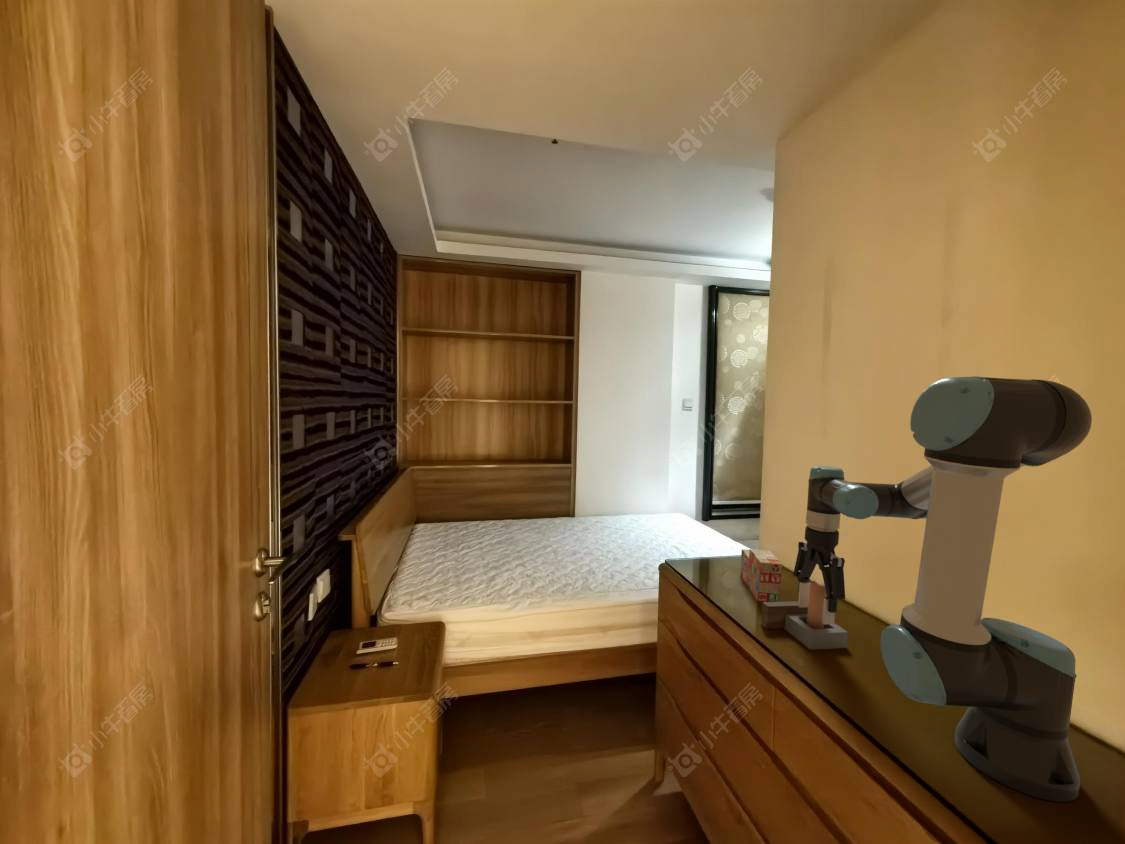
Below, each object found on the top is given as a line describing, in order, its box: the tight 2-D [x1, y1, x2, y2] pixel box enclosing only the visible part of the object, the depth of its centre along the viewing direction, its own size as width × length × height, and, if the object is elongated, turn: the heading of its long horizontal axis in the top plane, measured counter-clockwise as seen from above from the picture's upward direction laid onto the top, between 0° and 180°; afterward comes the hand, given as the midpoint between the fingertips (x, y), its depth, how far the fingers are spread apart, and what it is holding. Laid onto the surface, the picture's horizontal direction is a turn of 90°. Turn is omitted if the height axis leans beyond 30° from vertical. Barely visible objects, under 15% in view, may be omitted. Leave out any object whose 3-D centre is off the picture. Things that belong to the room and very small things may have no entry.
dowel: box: [806, 580, 827, 629], centre depth 120 cm, size 4×4×14 cm
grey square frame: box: [784, 614, 849, 651], centre depth 120 cm, size 10×10×4 cm
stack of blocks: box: [740, 548, 783, 603], centre depth 150 cm, size 21×6×12 cm, turn 173°
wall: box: [760, 600, 835, 629], centre depth 126 cm, size 2×20×6 cm, turn 99°
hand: (815, 614), depth 120 cm, fingers open, 8 cm apart
